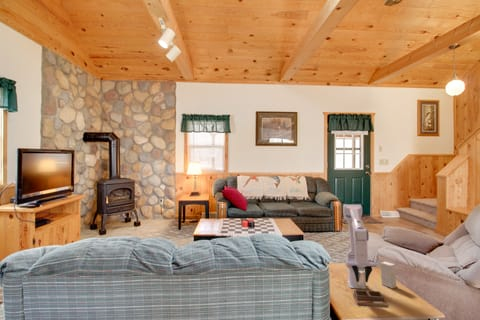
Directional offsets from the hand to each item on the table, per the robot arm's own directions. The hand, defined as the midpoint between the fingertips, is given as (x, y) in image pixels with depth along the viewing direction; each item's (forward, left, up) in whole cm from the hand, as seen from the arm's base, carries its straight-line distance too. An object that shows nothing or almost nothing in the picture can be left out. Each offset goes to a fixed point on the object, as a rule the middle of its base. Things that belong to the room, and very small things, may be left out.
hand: (361, 281), depth 138 cm
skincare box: (-18, +18, -9) cm, 27 cm away
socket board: (+1, +3, -9) cm, 9 cm away
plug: (0, 0, -2) cm, 2 cm away
